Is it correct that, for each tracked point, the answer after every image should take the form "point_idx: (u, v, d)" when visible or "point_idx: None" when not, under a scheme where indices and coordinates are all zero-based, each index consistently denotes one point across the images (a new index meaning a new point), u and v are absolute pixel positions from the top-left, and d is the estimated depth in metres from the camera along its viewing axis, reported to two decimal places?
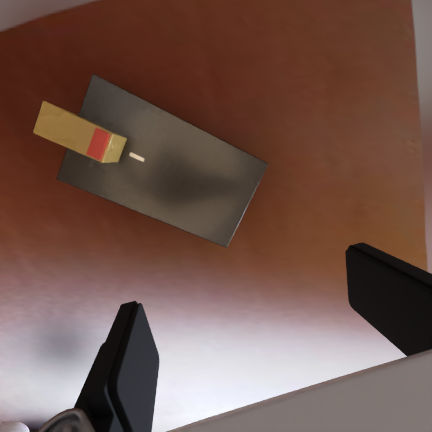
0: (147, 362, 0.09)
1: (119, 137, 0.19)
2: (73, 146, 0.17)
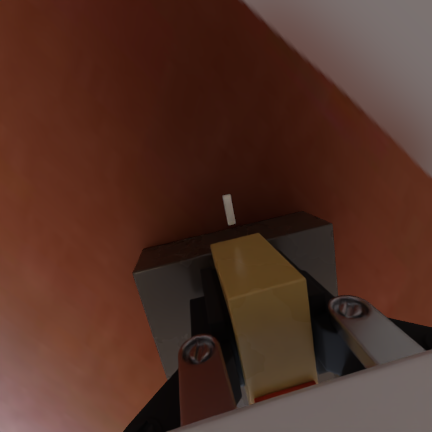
0: None
1: None
2: (252, 372, 0.07)
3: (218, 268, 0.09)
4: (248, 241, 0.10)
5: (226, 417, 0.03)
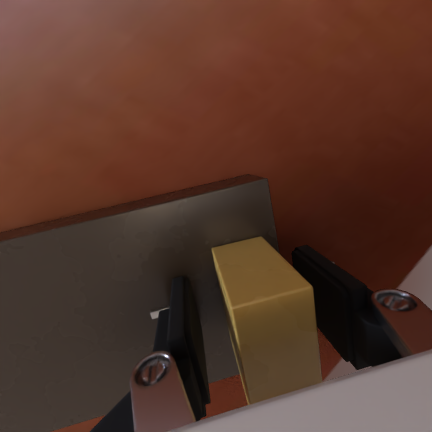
0: (198, 327, 0.10)
1: None
2: (255, 383, 0.07)
3: (220, 273, 0.08)
4: (250, 245, 0.10)
5: (226, 417, 0.03)
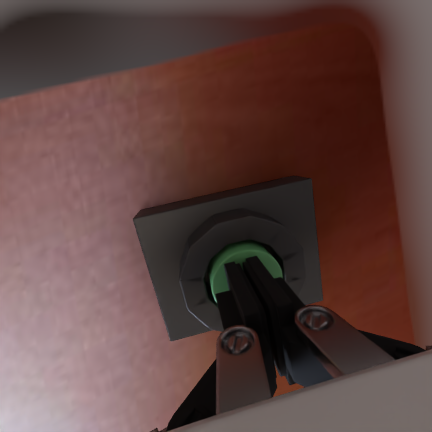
0: None
1: None
2: None
3: None
4: None
5: (226, 417, 0.03)
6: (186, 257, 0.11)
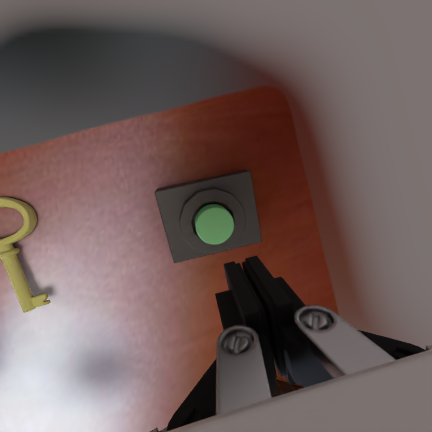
0: None
1: None
2: None
3: None
4: None
5: (226, 417, 0.03)
6: (182, 210, 0.22)
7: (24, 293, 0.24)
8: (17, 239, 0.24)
